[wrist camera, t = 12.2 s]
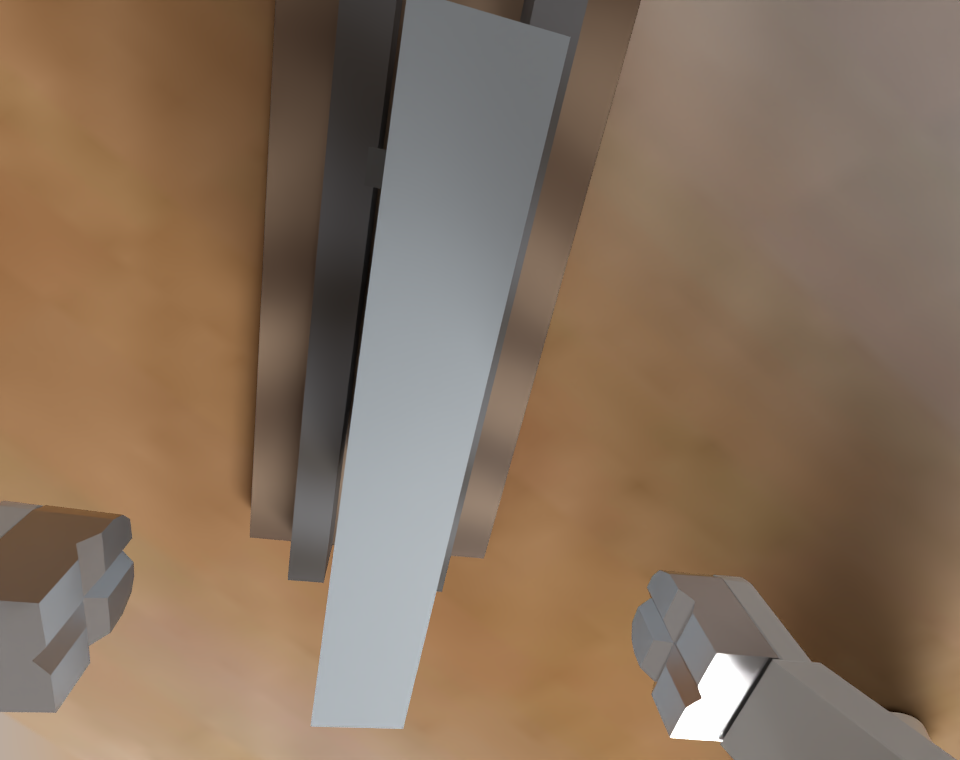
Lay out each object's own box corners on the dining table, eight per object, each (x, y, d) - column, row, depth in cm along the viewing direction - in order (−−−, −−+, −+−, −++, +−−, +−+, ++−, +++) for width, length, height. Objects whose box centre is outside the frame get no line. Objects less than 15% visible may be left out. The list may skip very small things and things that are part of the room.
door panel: (411, 472, 24) (402, 728, 13) (348, 464, 24) (286, 725, 13) (481, 107, 18) (570, 36, 7) (399, 86, 18) (364, -25, 7)
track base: (480, 539, 28) (489, 595, 25) (258, 517, 26) (232, 575, 23) (629, -8, 19) (681, -48, 15) (293, -116, 16) (257, -193, 13)
